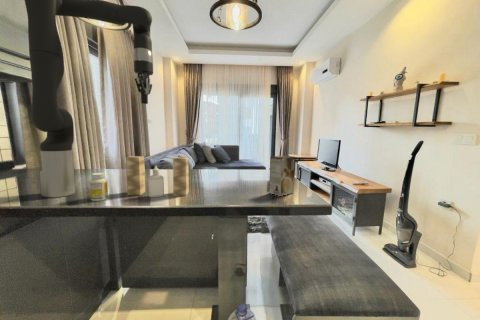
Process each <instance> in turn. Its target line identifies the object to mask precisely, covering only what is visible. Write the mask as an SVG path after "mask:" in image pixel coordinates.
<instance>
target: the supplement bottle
mask: <svg viewBox="0 0 480 320" xmlns="http://www.w3.org/2000/svg"><path fill="white" fill-rule="evenodd" d="M91 178H92V179H91V180H90V181H89V186H90V189H89V190H90V200H91V201H93V202H101V201H106V200H107V199H108V198H109V191H108V189H109V188H108V187H109V186H108V179H107V178H106V173H105V172H93V173H91Z"/></svg>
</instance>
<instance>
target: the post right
mask: <svg viewBox="0 0 480 320" xmlns="http://www.w3.org/2000/svg"><path fill="white" fill-rule="evenodd" d="M189 175H190V173H189V157H188V156H175V157H173V158H172V179H173V183H172V185H173V187H172V189H173V191H172V192H173V197H186V196H187V195H188V194H189V191H190V189H189V188H190V187H189V185H190V184H189V180H190V179H189Z"/></svg>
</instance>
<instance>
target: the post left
mask: <svg viewBox="0 0 480 320" xmlns="http://www.w3.org/2000/svg"><path fill="white" fill-rule="evenodd" d="M125 164H126V165H125V166H126V167H125V168H126V187H127V188H126V189H127V196H141V195H143V194H145V193H146V172H145V167H146V166H145V156H143V155H131V156H130V155H129V156H126V157H125Z"/></svg>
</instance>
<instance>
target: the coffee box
mask: <svg viewBox="0 0 480 320" xmlns="http://www.w3.org/2000/svg"><path fill="white" fill-rule="evenodd" d="M269 161H270V165H269V166H270V167H269V169H270V171H269V193H271V194H270V195H272V194H275V195H274V196H276V195H278V196H277V197H279V196H282V197H284V196H283V195H286V196H288V195H287V194H289V195H291V194H290V193H293V194H294V188H295V167H296V156H290V155H279V156H278V155H276V156H270V160H269ZM269 193H268V194H269Z"/></svg>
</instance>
